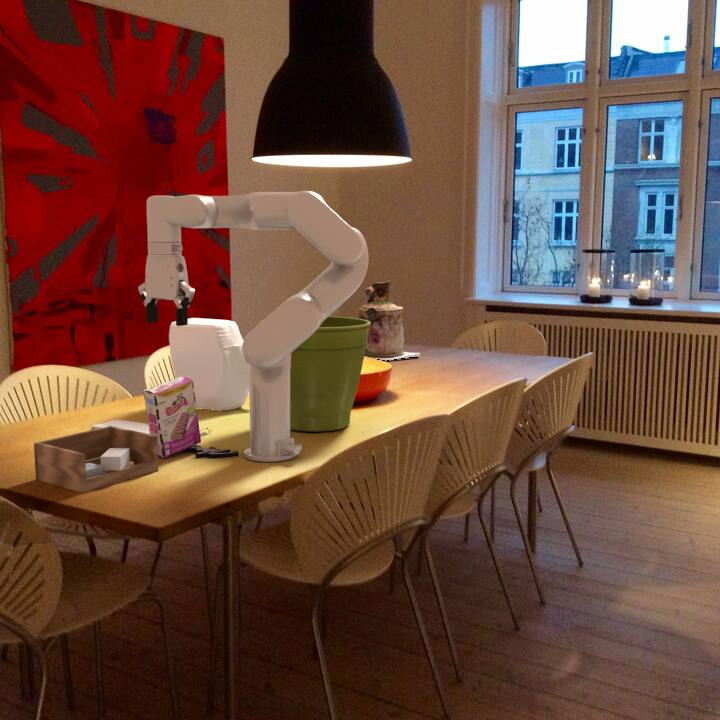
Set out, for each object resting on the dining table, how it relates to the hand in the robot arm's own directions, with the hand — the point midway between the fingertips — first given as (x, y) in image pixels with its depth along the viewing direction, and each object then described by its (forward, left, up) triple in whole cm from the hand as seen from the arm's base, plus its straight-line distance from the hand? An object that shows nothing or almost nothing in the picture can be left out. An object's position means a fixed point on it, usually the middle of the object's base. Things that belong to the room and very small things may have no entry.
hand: (166, 323), depth 201 cm
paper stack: (+30, -44, -31) cm, 62 cm away
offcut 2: (-6, +21, -28) cm, 36 cm away
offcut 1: (-5, +27, -31) cm, 42 cm away
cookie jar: (+46, -157, -32) cm, 167 cm away
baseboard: (+21, -13, -32) cm, 40 cm away
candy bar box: (-1, -1, -30) cm, 30 cm away
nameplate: (-1, -5, -32) cm, 32 cm away
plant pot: (-9, -44, -31) cm, 55 cm away
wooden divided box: (-1, +22, -31) cm, 38 cm away
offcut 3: (-4, +20, -32) cm, 38 cm away
